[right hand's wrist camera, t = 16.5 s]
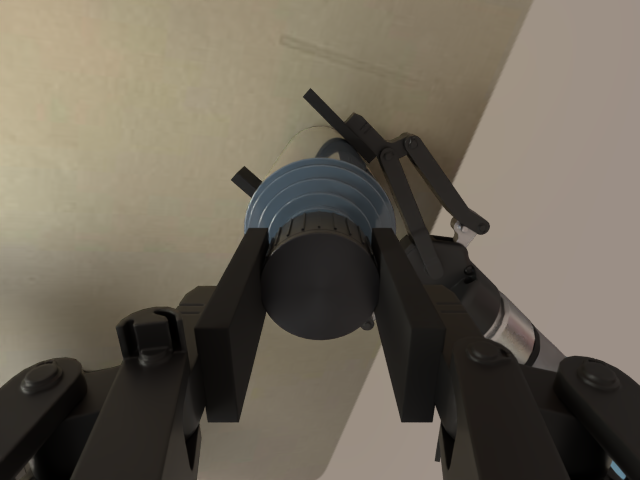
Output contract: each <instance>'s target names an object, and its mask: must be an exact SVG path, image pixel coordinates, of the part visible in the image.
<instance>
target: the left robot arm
mask: <svg viewBox="0 0 640 480" xmlns="http://www.w3.org/2000/svg"><path fill="white" fill-rule="evenodd" d="M303 97H304V98H305V99H306V100H307V101H308V102H309V103H310V104H311V105H312V107H313V108H314V109H315V110H316V111H317V112H318V113H319V114H320V115H321V116H322V117H323V118H324V119H325V120H326V121H327V122H328V123H329V124H330V125H331V126H332V127H333V128H334V129H335V130H336V131H337V132H338V133H339V134H340V135H341V136H342V137H343V138H344V139H345V140H346V141H347V142H348V143H349V144H350V145H351V146H352V147H353V148H354V149H355V150H356V151H357V152H358V153H359V154H360V155H361V156H362V157H363V158H364V159H365V160H366V161H367V162H368V163H370V162H371V161H372V160H373V159H374V158H375V157H376V156H377V159H378V161H379V164H380V166H381V168H382V171H383V173H384V176H385V178H386V181H387V183H388V185H389V188H390V190H391V193H392V195H393V197H394V200H395V202H396V205H397V207H398V209H399V212H400V214H401V217H402V219H403V222H404V225H405V227H406V230H407V232H408V235H409V236H408V235H406V236H405V237H404V238H403V239H401V240H400V244H401V246H402V248H403V250H404V251H405V253H406V255H407V257H408V259H409V261H410V262H411V264H412V266H413V268H414V270H415V272H416V273H417V275H418V277H419V279H420V281H421V283H422V284H423V285H443V286H445V287H446V288H448V289H449V290H451V291H452V292H454V293H455V295H456V296H457V297H458V299H459V300H460V302H461V305H463V306H464V308H465V309H466V311H467V313H468V314H469V315H470V316H471V318H472V319H473V321H474V322H475V324H476V325H477V327H478V328H479V330H480V331H481V333H482V334H483V335H484V337H485V338H487V339H491V340H493V341H495V342H498V343H500V344H502V345H503V346H505V347H506V348H508V349H509V350H510V351H511V352H512V353H513V354H514V356H515V357H516V358H517V361H518V363H519V364H523V365H527V366H531V367H535V368H540V369H545V370H550V371H554V372H557V370H558V366H559V363H560V362H561V361H562V360H563V359H564V358H566V356H564V355H563V354H562V353H561V352H560V351H559V350H558V349H557V347H555V346H554V345H553V344H552V343H551V342H550V341H549V340H548V339H547V338H546V337H545V336H544V335H543V334H542V333H541V332H540V331H539V330H538V329H536V328H535V326H534V325H533V324H532V323H531V322H530V320H529V319H528V318H527V317H526V316H525V315H524V314H523V313H522V312H521V311H520V310H519V309H518V308H517V307H516V306H515V305H514V304H513V303H512V302H511V301H510V300H509V299H508V298H507V297H506V296H505V295H504V294H503V293H501V292H500V291H499V290H498V289H497V287H496V286H495V285H494V284H493V283H492V282H491V281H490V280H489V279H488V278H487V277H486V276H485V275H484V274H483V273H482V272H481V271H480V270H479V269H478V268H477V267H476V266H475V265H474V264H473V263H472V262H471V261H470V259H469V257H468V251H467V249H466V247H467V246H468V244H469V243H470V242H471V241H472V239H473V238H474V237H475V236H476V235H477V234H479V235H483V234H485V233H487V232H488V230H489V228H490V225H489V223H488V222H487V221H486V220H485V219H483V218H482V217H481V216H479V215H478V214H477V213H475V212H474V211H472V210H471V209H469V208H468V207H467V205H466V204H465V203H464V201H463V200H462V198H461V197H460V195H459V194H458V192H457V191H456V190H455V188H454V187H453V185H452V184H451V182H450V181H449V179H448V178H447V177H446V175H445V174H444V172H443V171H442V169H441V168H440V166H439V165H438V164H437V162H436V161H435V159H434V158H433V156H432V155H431V154H430V152H429V151H428V149H427V148H426V146H425V145H424V143H423V142H422V141H421V139H420V138H419V137H418V136H415V135H413V134H410V133H403V134H401V135H400V136H399V137H397V138H395V139H393V140H390V141H387V140H384V139H383V138H382V137H381V136H380V135H379V134H378V133H377V132H376V131H375V130H374V129H373V127H372V126H371V125H370V124H369V123H368V122H367V121H366V120H365V119H364V118H363V117H362V116H360V115H358V114H355V113H352V114H351V116H350V117H349V118H348V119H347V120H346V121H345V122H343V121H342V120H341V119H340V118H339V117H338V116H337V115H336V114H335V113H334V112H333V111H332V110H331V109H330V108H329V107H328V105H327V104H326V103H325V102H324V101H323V100H322V99H321V98H320V97H319V96H318V95H317V94H316V93H315V92H314V91H313V90H312V89H311V88H310V89H309V90H308V92H307V93H306V94H305V95H304V96H303ZM405 155H407V157H408V158H409V160H410V161H411V162H412V164H413V165H414V166H415V168H416V169H417V171H418V172H419V173H420V175H421V176H422V178H423V179H424V180H425V182H426V183H427V185H428V186H429V187H430V189H431V190H432V191H433V193H434V194H435V196H436V197H437V198H438V200H439V201H440V203H441V204H442V205H443V207H444V208H445V209H446V210H447V211H448V212H449V213H450V214H451V215H452V216H453V218H452V220H451V227H452V228H453V229H454V231H455V235H454V237H453V238H451V237H443V236H435V235H429V233H428V230H427V228H426V227H425V225H424V222H423V220H422V217H421V214H420V212H419V209H418V207H417V204H416V202H415V199H414V197H413V194H412V192H411V189H410V187H409V184H408V181H407V179H406V176H405V174H404V171H403V169H402V166H401V164H400V161H399V158H401V157H403V156H405ZM231 181H233V182H234V183H235V184H236V185H237V186H238V187H240V188H241V189H242V190H243V191H244V192H245V193H246V194H248V195H249V196H250V197H251V198H252V197H253V195H254V193H255V191H256V190H257V189H258V187H259V186H260V184H261V183H262V181H261V180H259V179H258V178H257V177H256V176H255V175H254V174H253V173H252V172H251V171H249V170H248V169H247V168H246V167H245V166H244V167H243V168H242V169H241V170H240V171H238V172H237V173H236V175H235V176H234V177H233V178H232V179H231ZM374 320H376V318H375V314H374V312H373V314H372V315H371V316H370V318H369V319H368V320H367V321H366V322H365V323H364V324H363V325H362V326H360V327H361V328H362V329H364V330H371V329H372V328H373V327H374ZM84 373H87V372H84ZM611 467H612V469H613V470H614V471H615V472H616V473H617V474H618V475H619V476H620V477H621V478H622V479H625V477H626V475H625V474H624V473H623V472H622V471H621V469H620V468H619V467H618V466H617V465H616V464H615V462H614V461H612V463H611ZM29 469H30V465H29V462H28V463H27V464H26V465H25V467H24V468H23V469H22V470H21V471H20V473H19V474H18V475H17V476H16V477H15V479H16V480H19V479H20V478H21V477H22V476H24V475H25V474H26V472H27V471H28V470H29Z"/></svg>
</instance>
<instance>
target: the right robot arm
mask: <svg viewBox="0 0 640 480" xmlns="http://www.w3.org/2000/svg"><path fill="white" fill-rule="evenodd" d="M268 247H269V231H268V228H248V230H247V232H246V234H245V235H244V237H243V239H242V241H241V243H240V245H239V246H238V248H237V250H236V252H235V254H234V256H233V257H232V259H231V261H230V263H229V265H228V267H227V268H226V270H225V272H224V274H223V276H222V278H221V279H220V281H219V283H218V285H217V286H197V287H196V288H195V289H193V290H192V291H190V292H189V293H187V294H186V295H185V296H184V298H183V299H182V301H181V302H180V304H179V306H178V307H177V308H176V309H174V308H170V307H152V308H147V309H143V310H140V311H138V312H135V313H132V314H130V315H129V316H127V317H126V318H124V319H122V320H121V321H120V323H119V324H118V325H117V326H116V330H117V334H118V338H119V343H120V347H121V351H122V355H123V361H122V364H121V365H119V366H116V367H112V368H108V369H103V370H98V371H94V372H89V373H84V372H83V369H82V365H81V363H79V362H78V361H77V360H76V359H72V358H67V357H65V358H54V359H49V360H46V361H42V362H39V363H37V364H35V365H33V366H31V367H29V368H26V369H24V370H23V371H21V372H20V373H18V374H17V375H16V376H14V377H13V378H11V379H10V380H9V381H8V382H7V383H6V384H4V385H3V386H2V387H1V388H0V480H16V479H15V477H16V476H17V475H18V474H19V473H20V471H21V470H22V469H23V468H24V467H25V465H26V464H27V463H28V462H29V465H30V469H29V470H28V471H27V472H26V474H25V475H24V476H22V477H21V478H20V479H19V480H197V473H198V464H199V455H200V447H201V431H200V424H199V422H200V419H201V416H202V414H203V411H204V408H205V407H206V414H207V420H208V422H239V419H240V415H241V411H242V407H243V403H244V399H245V395H246V391H247V387H248V383H249V379H250V375H251V371H252V367H253V363H254V359H255V355H256V351H257V347H258V343H259V339H260V335H261V331H262V327H263V323H264V319H265V315H266V310H265V308H264V306H263V303H262V299H261V284H260V275H261V272H262V268H263V265H264V262H265V259H266V258H265V256H266V253H267V250H268ZM371 247H372V250H373V253H374V256H375V259H376V262H377V265H378V271H379V274H380V287H379V301H378V304H377V306H376V309H375V310H374V314H375V318H376V322H377V326H378V330H379V334H380V338H381V342H382V346H383V350H384V354H385V358H386V362H387V366H388V370H389V374H390V378H391V382H392V386H393V390H394V394H395V398H396V402H397V406H398V410H399V414H400V418H401V422H433V415H434V408H435V406H436V408H437V411H438V414H439V416H440V419H441V424H440V431H439V437H438V443H437V449H436V456H435V461H437V462H440V457H441V463H442V472H443V480H640V385H638V384H637V383H636V382H635V381H634V380H633V379H632V378H630V377H629V376H628V375H626V374H625V373H623V372H622V371H621V370H619V369H618V368H616V367H614V366H612V365H609V364H607V363H605V362H604V361H601V360H598V359H594V358H590V357H582V356H571V357H566V358H564V359H563V360H562V361H561V362H560V363H559V366H558V370H557V372H554V371H550V370H545V369H540V368H535V367H531V366H527V365H523V364H519V363H518V361H517V358H516V357H515V356H514V354H513V353H512V352H511V351H510V350H509V349H508V348H506V347H505V346H503V345H502V344H500V343H498V342H495V341H493V340H491V339H487V338H485V337H484V335H483V334H482V333H481V331H480V330H479V328H478V327H477V325H476V324H475V322H474V321H473V319H472V318H471V316H470V315H469V314H468V313H467V311H466V309H465V308H464V306H463V305H461V302H460V300H459V299H458V297H457V296H456V295H455V293H454V292H452V291H451V290H449V289H448V288H446V287H445V286H443V285H423V284H422V283H421V281H420V279H419V277H418V275H417V273H416V272H415V270H414V268H413V266H412V264H411V262H410V261H409V259H408V257H407V255H406V253H405V251H404V250H403V248H402V246H401V244H400V242H399V240H398V239H397V237H396V235H395V233H394V231H393V229H392V228H372V235H371ZM612 461H614V462H615V464H616V465H617V466H618V467H619V468H620V469H621V471H622V472H623V473H624V474H625V475H626V477H625V479H622V478H621V477H620V476H619V475H618V474H617V473H616V472H615V471H614V470H613V469H612V467H611V463H612Z"/></svg>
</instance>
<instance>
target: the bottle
mask: <svg viewBox="0 0 640 480" xmlns="http://www.w3.org/2000/svg"><path fill="white" fill-rule="evenodd" d="M318 211H320V212H330V213H333V212H334V213H335V214H338V215H341V216H343V217H345V218H346V217H347V218H349V220H350V221H352V222H353V223H355V224H356V225H357V226H358V225H359V226H360V229H361V230H362V231H363V233H364V234H365V236H368V238H369V241H370V244H371V235H372V228H392V229H393V231H394V233H395V235H396V220H395V215H394V210H393V207H392V205H391V202H390V200H389V198H388V196H387V194H386V193H385V191H384V189H383V188H382V187H381V185H380V184H379V182H378V181H377V179H376V178H375V176H374V175H373V173H372V172H371V171H370V169H369V168H368V166H367V165H366V163H365V162H364V160H363V159H362V157H361V156H360V155H359V153H358V152H357V151H356V150H355V149H354V148H353V147H352V146H351V145H350V144H349V143H348V142H347V141H346V140H345V139H344V138H343V137H342V136H341V135H340V134H339V133H338V132H337V131H336V130H335V129H333V128H330V127H325V126H315V127H310V128H307V129H305V130H302V131H301V132H299V133H298V134H296V135H295V136H294V137H293V138H292V139H291V140H290V142H289V143H288V145H287V146H286V147H285V149H284V150H283V152H282V153H281V155H280V156H279V158H278V159H277V161H276V162H275V164H274V165H273V167H272V168H271V169H270V171H269V172H268V174H267V175H266V177H265V178H264V180H263V181H262V183H261V184H260V186H259V187H258V189H257V190H256V191H255V193H254V195H253V197H252V198H251V200H250V202H249V205H248V208H247V211H246V216H245V222H244V235H245V234H246V232H247V230H248V228H268V231H269V244H270V241H271V239H272V237H273V238H274V236H275V235H276V233H277V232H278V230H279V228H280V227H282V226H283V225H285V224H286V223H287V222H288V221H290V219H291V218H292V219H293V218H295V217H297V216H300V215H302V214H303V213H310V212H318Z"/></svg>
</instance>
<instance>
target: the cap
mask: <svg viewBox="0 0 640 480" xmlns="http://www.w3.org/2000/svg"><path fill="white" fill-rule="evenodd" d="M265 258H266V259H265V262H264V265H263V268H262V272H261V275H260V284H261V299H262V303H263V306H264V308H265V310H266V311H267V313H268V314H269V316H270V317H271V318H272V320H273V321H274V322H275V323H276V324H277V325H279V326H280V327H281V328H283V329H284V330H286V331H287V332H289V333H291V334H293V335H296V336H298V337H302V338H306V339H312V340H329V339H335V338H339V337H342V336H345V335H347V334H349V333H351V332H353V331H355V330H356V329H358V328H359V327H360V326H362V325H363V324H364V323H365V322H366V321H367V320H368V319H369V318H370V316H371V315H372V314H373V312H374V310H375V309H376V306H377V304H378V301H379V287H380V274H379V271H378V265H377V262H376V259H375V256H374V253H373V250H372V247H371V244H370V241H369V238H368V236H365V234H364V233H363V231H362V230H361V229H360V226H359V225H358V226H357V225H356V224H355V223H353V222H352V221H350V220H349V218H347V217H346V218H345V217H343V216H341V215H338V214H335V213H334V212H333V213H330V212H320V211H318V212H310V213H303V214H302V215H300V216H297V217H295V218H293V219H292V218H291V219H290V221H288V222H287V223H286V224H285V225H283V226H282V227H280V228H279V230H278V232H277V233H276V235H275V236H274V238H273V237H272V239H271V241H270V244H269V247H268V250H267V253H266V256H265Z"/></svg>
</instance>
